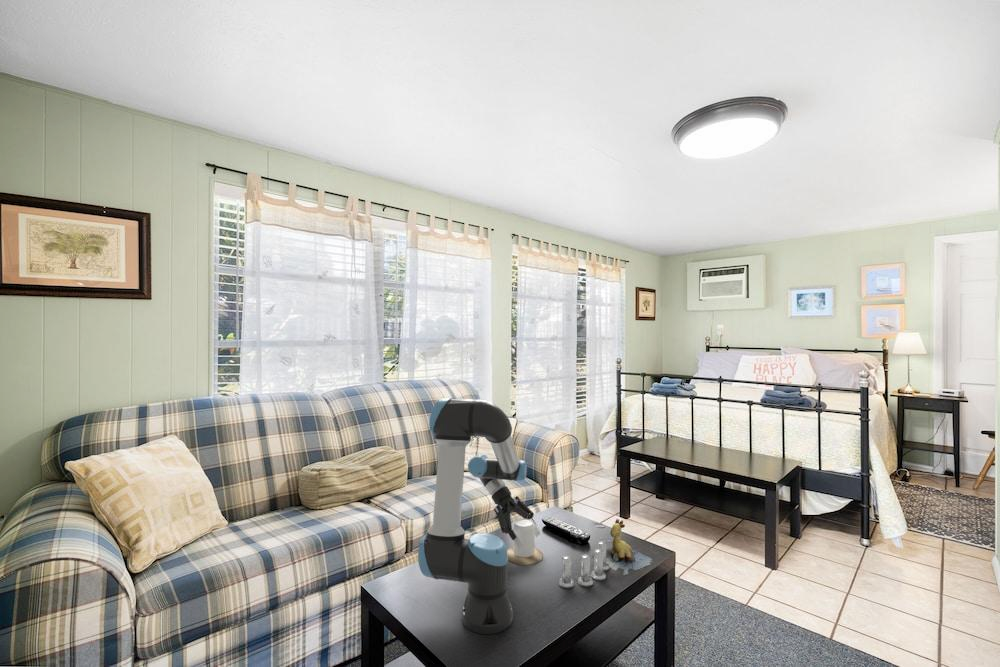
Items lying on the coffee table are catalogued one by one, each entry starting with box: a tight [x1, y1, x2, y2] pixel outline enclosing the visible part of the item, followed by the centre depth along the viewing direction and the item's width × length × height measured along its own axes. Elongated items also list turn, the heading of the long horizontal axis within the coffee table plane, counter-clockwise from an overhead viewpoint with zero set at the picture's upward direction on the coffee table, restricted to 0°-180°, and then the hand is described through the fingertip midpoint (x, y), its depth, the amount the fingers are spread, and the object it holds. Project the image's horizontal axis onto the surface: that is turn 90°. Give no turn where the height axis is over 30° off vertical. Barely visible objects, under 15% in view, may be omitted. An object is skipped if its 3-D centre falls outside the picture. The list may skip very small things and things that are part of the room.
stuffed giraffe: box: [591, 518, 654, 576], centre depth 169 cm, size 16×18×16 cm
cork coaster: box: [507, 546, 543, 566], centre depth 171 cm, size 14×14×1 cm
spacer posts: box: [558, 540, 610, 589], centre depth 157 cm, size 23×12×9 cm, turn 142°
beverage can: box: [512, 518, 536, 558], centre depth 172 cm, size 8×8×12 cm
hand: (530, 540), depth 170 cm, fingers open, 11 cm apart
